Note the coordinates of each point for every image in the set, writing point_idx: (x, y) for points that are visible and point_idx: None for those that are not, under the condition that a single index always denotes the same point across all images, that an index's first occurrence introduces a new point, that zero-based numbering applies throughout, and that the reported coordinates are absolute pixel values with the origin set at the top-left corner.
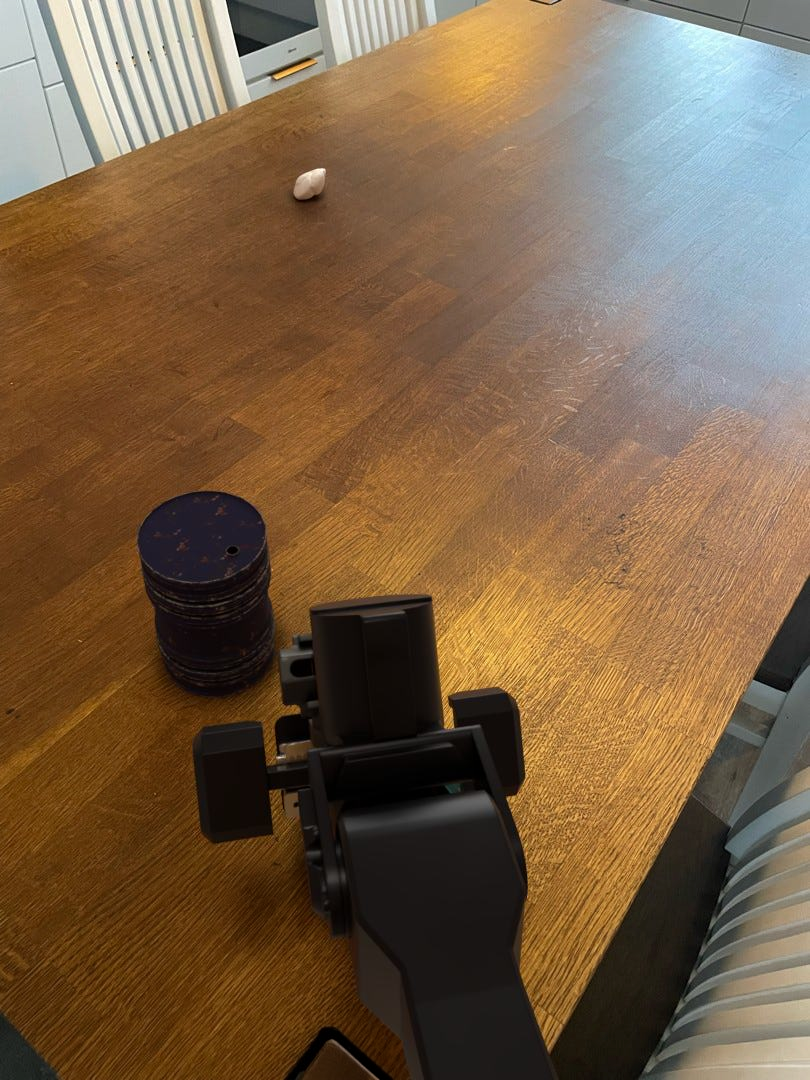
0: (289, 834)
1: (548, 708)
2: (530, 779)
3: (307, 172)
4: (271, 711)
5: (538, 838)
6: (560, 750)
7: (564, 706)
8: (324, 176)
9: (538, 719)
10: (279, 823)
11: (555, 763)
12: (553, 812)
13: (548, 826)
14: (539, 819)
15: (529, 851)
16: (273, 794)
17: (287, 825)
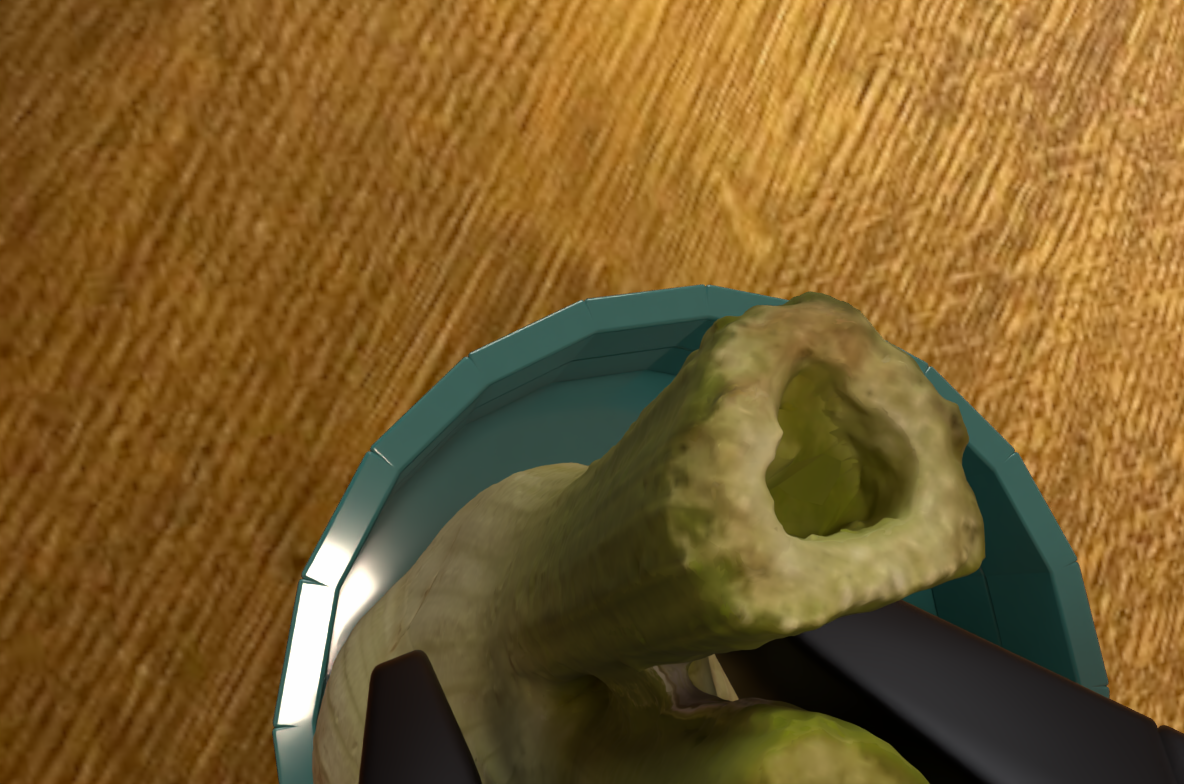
0: (228, 760)
1: (1093, 65)
2: (1080, 350)
3: None
4: (25, 193)
5: (1139, 570)
6: (1154, 224)
7: (1140, 53)
8: None
9: (1069, 112)
10: (172, 720)
11: (1146, 276)
12: (1169, 462)
13: (1162, 518)
14: (1131, 497)
15: (1120, 625)
16: (117, 590)
17: (210, 721)
